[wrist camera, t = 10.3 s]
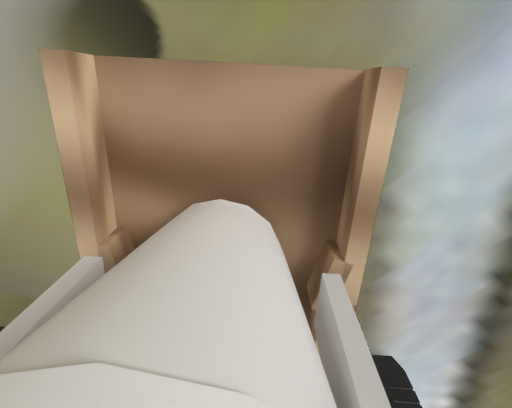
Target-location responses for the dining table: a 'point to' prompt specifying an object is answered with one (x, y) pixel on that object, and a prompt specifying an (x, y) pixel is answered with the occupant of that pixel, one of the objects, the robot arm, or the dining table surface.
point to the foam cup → (179, 327)
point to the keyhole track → (226, 153)
